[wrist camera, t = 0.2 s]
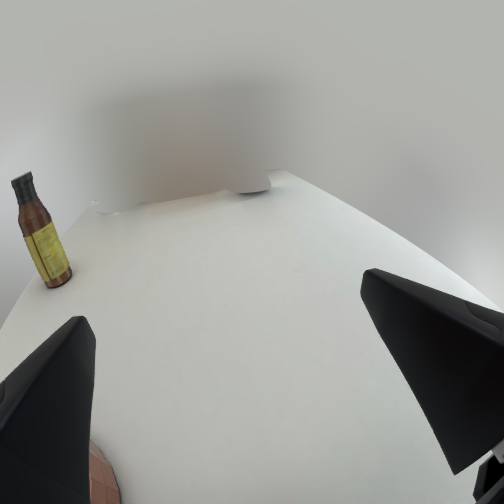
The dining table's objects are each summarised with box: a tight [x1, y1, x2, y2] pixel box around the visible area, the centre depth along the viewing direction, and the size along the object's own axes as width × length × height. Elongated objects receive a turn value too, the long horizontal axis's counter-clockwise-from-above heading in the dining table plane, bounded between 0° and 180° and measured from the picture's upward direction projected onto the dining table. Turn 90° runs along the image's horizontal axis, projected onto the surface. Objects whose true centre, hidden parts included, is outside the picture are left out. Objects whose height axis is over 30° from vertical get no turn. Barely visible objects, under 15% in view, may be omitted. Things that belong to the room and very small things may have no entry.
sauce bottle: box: [11, 171, 72, 287], centre depth 35 cm, size 6×6×20 cm
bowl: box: [89, 440, 120, 504], centre depth 9 cm, size 15×15×4 cm
